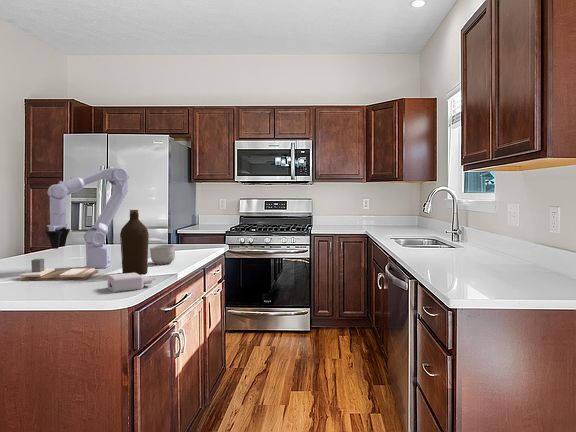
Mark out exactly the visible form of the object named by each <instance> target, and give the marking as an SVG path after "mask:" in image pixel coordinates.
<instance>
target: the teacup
mask: <svg viewBox="0 0 576 432" xmlns="http://www.w3.org/2000/svg"><path fill="white" fill-rule="evenodd" d="M175 246H176V245H175V244H158V245H152V246H150V247H149V253H150V259H151V261H152V262H153V263H154V264H156V265H168V264H171V263H172V262H173V261H174V260H175V258H176V252H175V251H176V250H175Z"/></svg>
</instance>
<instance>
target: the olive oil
mask: <svg viewBox="0 0 576 432" xmlns="http://www.w3.org/2000/svg"><path fill="white" fill-rule="evenodd" d="M139 217H140V216H139V209H130V210H129V220H128V221H127V222H126V224H124V225H123V226H122V228H121V229H120V234H119V241H120V251H121V252H120V253H121V269H122V270H121V271H122V272H121V274H125V273H137V274H139V275H141V276H144V275H146V274H148V268H149V267H148V263H149V261H148V260H149V258H148V257H149V230H148V228H147V227H146V225H145V224H143V222H141V220H140V219H139Z"/></svg>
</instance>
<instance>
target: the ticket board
mask: <svg viewBox="0 0 576 432" xmlns="http://www.w3.org/2000/svg"><path fill="white" fill-rule="evenodd" d="M67 270H68V269H66V270H64V269H63V270H61V269H60V270H54V271H52V272H50V273H47V274H45V275H43V276H41V277H22V281H23V282H28V281H29V282H33V281H35V282H36V281H38V282H39V281H40V282H41V280H42V282H43V280H45V281H83V280H84V281H87V280H88V279H90V278H92V277H94V276H95V275H97V274H98V273H99V269H95V271H93V272H91V273H89V274H88V275H86V276H84V277H59V274H62V273H63V272H65V271H67Z"/></svg>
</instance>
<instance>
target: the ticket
mask: <svg viewBox="0 0 576 432" xmlns="http://www.w3.org/2000/svg"><path fill="white" fill-rule="evenodd" d="M66 270H67V271H65V272H63V273H62V274H59V277H84V276H86V275H88V274H89V273H91V272H93V271H95V270H96V268H70V269H66Z"/></svg>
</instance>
